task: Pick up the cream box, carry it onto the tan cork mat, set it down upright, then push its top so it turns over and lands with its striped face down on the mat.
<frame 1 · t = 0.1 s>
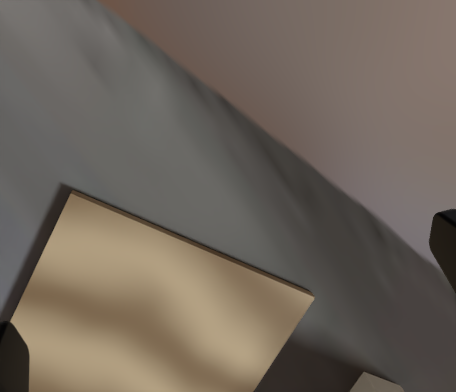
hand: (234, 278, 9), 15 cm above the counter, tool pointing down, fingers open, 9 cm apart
mat: (151, 337, 27), on the counter
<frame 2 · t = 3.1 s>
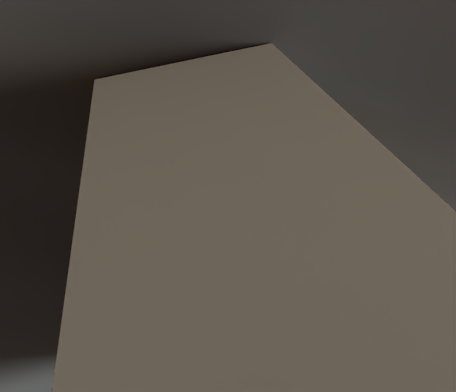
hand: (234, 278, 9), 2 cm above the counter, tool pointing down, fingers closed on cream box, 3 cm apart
cream box: (216, 220, 11), on the counter, touching gripper
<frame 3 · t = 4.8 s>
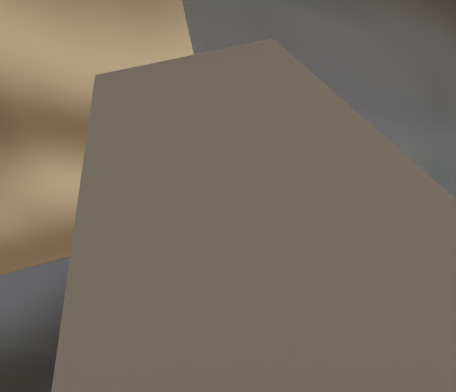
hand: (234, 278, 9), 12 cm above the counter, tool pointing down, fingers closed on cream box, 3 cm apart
mat: (18, 126, 19), on the counter
cream box: (217, 217, 11), point 10 cm above the counter, touching gripper
when the fingers open (4 cm above the counter, at t = 6.8 s): cream box drops 1 cm, resting on mat.
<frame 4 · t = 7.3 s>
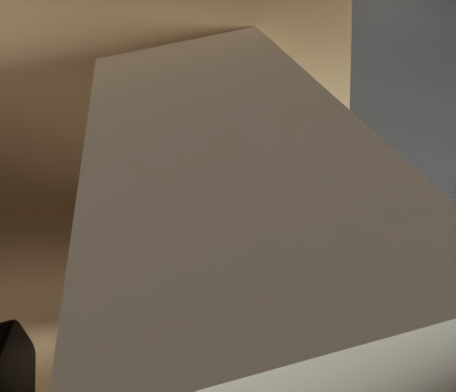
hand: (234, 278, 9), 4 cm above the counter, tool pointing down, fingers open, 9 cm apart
mat: (59, 216, 12), on the counter
cream box: (208, 193, 12), point 1 cm above the counter, touching mat
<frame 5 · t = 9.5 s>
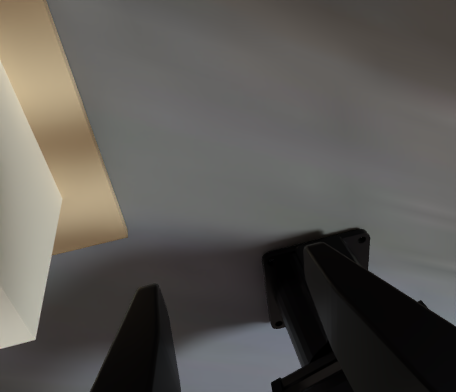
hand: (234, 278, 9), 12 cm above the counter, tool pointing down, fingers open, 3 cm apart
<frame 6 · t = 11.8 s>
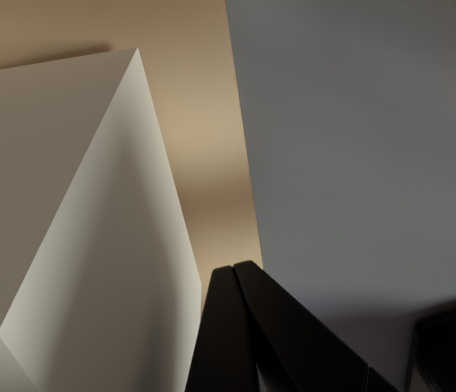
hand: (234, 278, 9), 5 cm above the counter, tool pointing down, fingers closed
cream box: (115, 196, 13), point 1 cm above the counter, tilted 10°, touching gripper, mat
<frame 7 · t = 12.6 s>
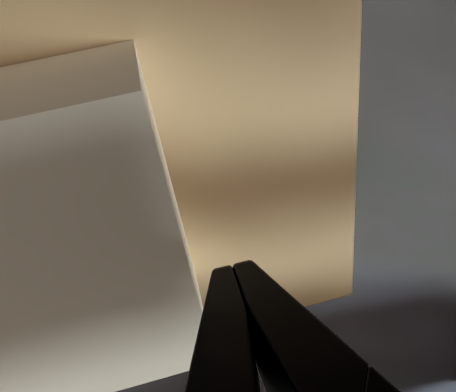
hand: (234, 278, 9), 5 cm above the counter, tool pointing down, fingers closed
mat: (94, 187, 13), on the counter
cream box: (177, 214, 11), point 2 cm above the counter, tilted 89°, touching mat
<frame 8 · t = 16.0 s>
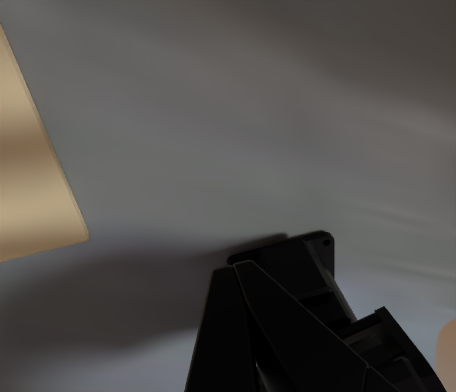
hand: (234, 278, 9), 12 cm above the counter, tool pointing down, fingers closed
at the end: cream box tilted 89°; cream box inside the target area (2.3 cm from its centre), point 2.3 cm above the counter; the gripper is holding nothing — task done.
